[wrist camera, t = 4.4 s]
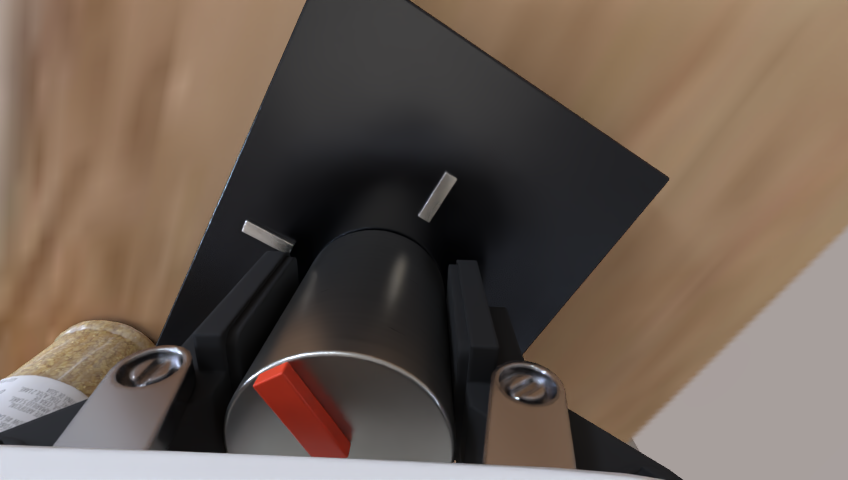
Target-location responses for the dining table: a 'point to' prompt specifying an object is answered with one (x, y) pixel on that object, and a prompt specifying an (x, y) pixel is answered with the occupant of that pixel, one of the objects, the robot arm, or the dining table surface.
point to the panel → (417, 166)
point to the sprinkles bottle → (66, 370)
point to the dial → (354, 361)
